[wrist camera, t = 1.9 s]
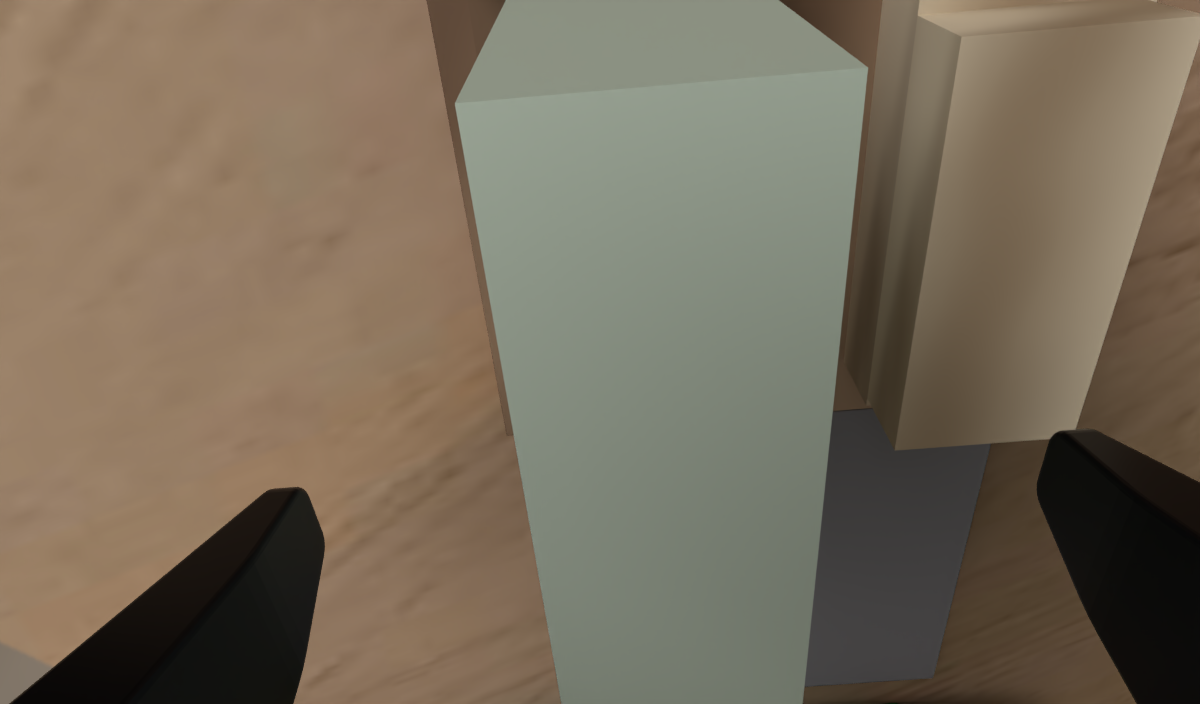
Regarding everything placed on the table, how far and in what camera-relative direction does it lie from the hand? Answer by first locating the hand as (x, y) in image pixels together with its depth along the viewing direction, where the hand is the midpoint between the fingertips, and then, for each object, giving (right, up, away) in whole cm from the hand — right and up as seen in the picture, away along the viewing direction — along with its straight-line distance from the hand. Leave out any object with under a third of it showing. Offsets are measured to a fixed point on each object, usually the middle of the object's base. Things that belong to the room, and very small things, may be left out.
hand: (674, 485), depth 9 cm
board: (0, +5, +7) cm, 9 cm away
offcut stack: (+7, +5, +7) cm, 11 cm away
